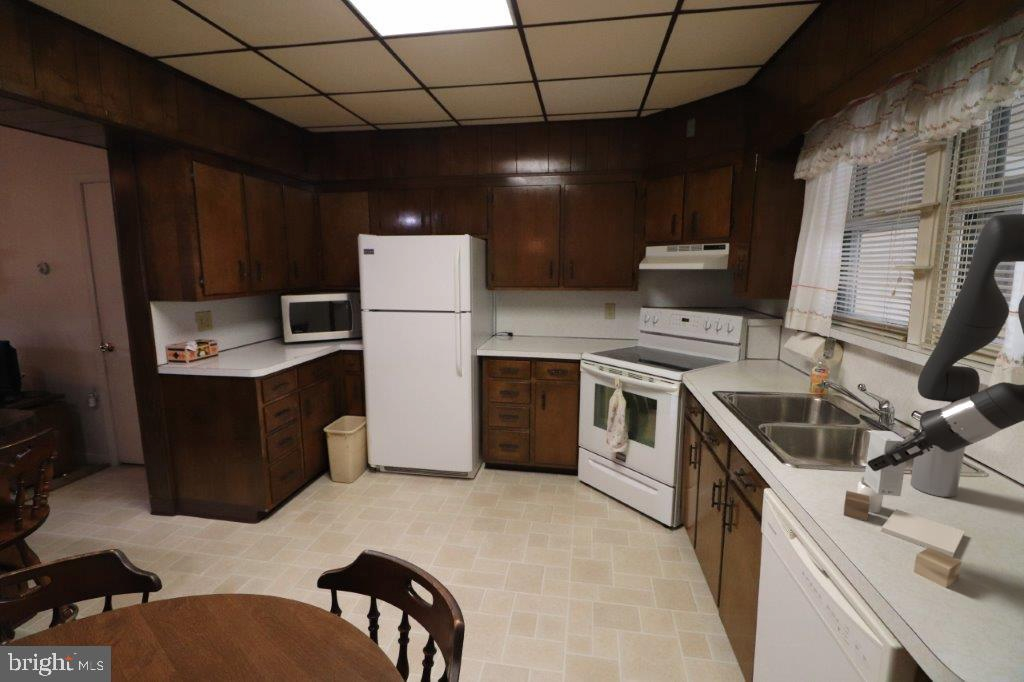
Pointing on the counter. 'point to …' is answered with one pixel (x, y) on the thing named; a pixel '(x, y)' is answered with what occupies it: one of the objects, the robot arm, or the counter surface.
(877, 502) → the white jar
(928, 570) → the oak block
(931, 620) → the counter surface
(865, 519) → the walnut block
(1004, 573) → the counter surface
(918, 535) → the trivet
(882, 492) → the skincare box
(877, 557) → the counter surface
